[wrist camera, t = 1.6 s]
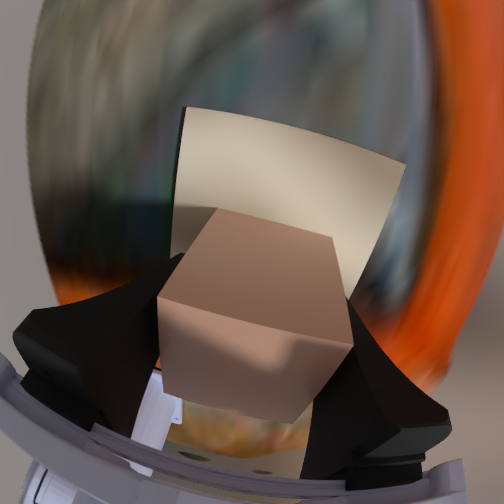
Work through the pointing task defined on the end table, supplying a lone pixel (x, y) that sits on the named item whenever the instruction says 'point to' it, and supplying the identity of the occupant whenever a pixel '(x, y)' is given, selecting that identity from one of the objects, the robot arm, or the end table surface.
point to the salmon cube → (253, 318)
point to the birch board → (282, 183)
